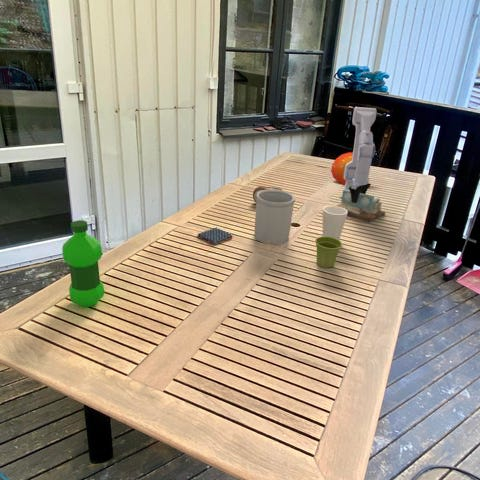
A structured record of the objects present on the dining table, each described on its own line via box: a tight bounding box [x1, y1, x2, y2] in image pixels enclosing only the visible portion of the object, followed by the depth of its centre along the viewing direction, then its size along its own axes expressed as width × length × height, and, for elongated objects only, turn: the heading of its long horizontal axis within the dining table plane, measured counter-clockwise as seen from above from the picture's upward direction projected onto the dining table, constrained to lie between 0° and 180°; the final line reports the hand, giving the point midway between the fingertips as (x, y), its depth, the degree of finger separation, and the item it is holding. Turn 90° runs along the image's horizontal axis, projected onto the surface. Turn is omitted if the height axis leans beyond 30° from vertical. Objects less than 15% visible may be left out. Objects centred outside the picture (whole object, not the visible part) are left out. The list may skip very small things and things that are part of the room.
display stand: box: [336, 201, 386, 223], centre depth 203 cm, size 14×19×6 cm
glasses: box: [340, 188, 381, 211], centre depth 203 cm, size 10×14×6 cm
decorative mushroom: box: [330, 151, 357, 185], centre depth 244 cm, size 15×21×15 cm
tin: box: [252, 185, 284, 203], centre depth 206 cm, size 15×3×8 cm, turn 84°
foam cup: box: [322, 205, 348, 240], centre depth 173 cm, size 10×9×13 cm
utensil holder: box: [254, 189, 296, 245], centre depth 172 cm, size 15×15×18 cm
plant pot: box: [314, 236, 343, 269], centre depth 156 cm, size 9×9×9 cm
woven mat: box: [196, 226, 233, 246], centre depth 172 cm, size 10×11×2 cm
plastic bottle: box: [61, 220, 105, 308], centre depth 123 cm, size 10×10×25 cm
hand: (357, 200), depth 200 cm, fingers open, 7 cm apart
